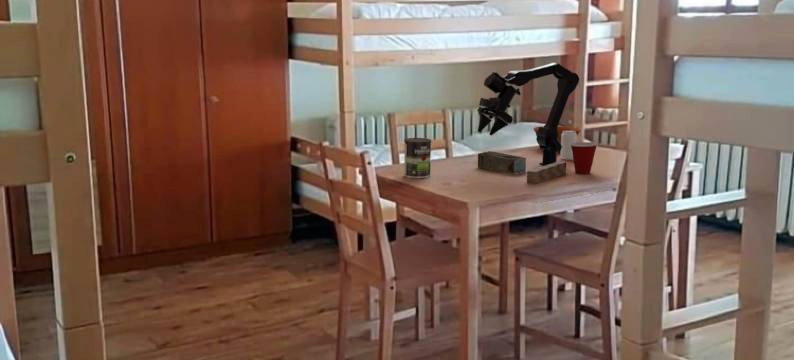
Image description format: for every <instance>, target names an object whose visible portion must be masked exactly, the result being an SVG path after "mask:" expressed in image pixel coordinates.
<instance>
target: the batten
mask: <svg viewBox="0 0 794 360" xmlns="http://www.w3.org/2000/svg"><path fill="white" fill-rule="evenodd" d="M564 174H567V161H564V160H563V161H562V160H559V161H558V160H557V162H555V163H552V164H549V165H541V166H539V167H536V168H533V169H530V170H526V184H530V185H535V184H538V183H542V182H545V181H547V180H549V179H553V178H556V177H558V176H562V175H564Z"/></svg>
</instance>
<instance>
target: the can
mask: <svg viewBox="0 0 794 360" xmlns="http://www.w3.org/2000/svg"><path fill="white" fill-rule="evenodd" d="M577 140H578V135H577V134H576V131H572V130H565V131H563V133H562V137H561V146H562V148H561V151H560V159H561V160H563V159H564V160H563V161H574V160H573V152H572V148H571V146H570V144H571V143H578V141H577Z"/></svg>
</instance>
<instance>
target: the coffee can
mask: <svg viewBox="0 0 794 360" xmlns="http://www.w3.org/2000/svg"><path fill="white" fill-rule="evenodd" d="M431 147H432V139H430V138H424V137H409V138H405V139H404V164H403V165H404V170H403V171H404V173H403V174H404V177H405V178H409V179H427V178H430V177H431V150H432V148H431Z"/></svg>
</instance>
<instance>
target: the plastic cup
mask: <svg viewBox="0 0 794 360" xmlns="http://www.w3.org/2000/svg"><path fill="white" fill-rule="evenodd" d="M598 145H599V144H598V142H591V141H588V142H587V141H583V142H581V141H580V142H577V143H571V144H570V146H571V148H572V152H573V160H572V161H573V165H574V166H573V167H574V172H575V174H577V175H590V174H591V171H592V167H593V164H594V158H595V155H596V149H597V146H598Z"/></svg>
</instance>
